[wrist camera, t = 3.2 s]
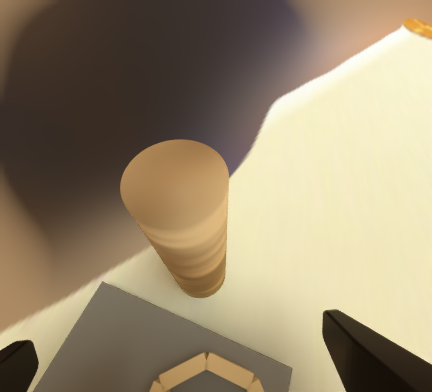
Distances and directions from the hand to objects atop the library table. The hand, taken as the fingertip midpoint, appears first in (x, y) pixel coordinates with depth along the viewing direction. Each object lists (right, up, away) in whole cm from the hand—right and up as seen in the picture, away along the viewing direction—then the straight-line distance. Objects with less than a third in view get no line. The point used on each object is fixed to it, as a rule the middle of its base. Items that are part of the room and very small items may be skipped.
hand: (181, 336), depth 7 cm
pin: (0, -2, +12) cm, 13 cm away
